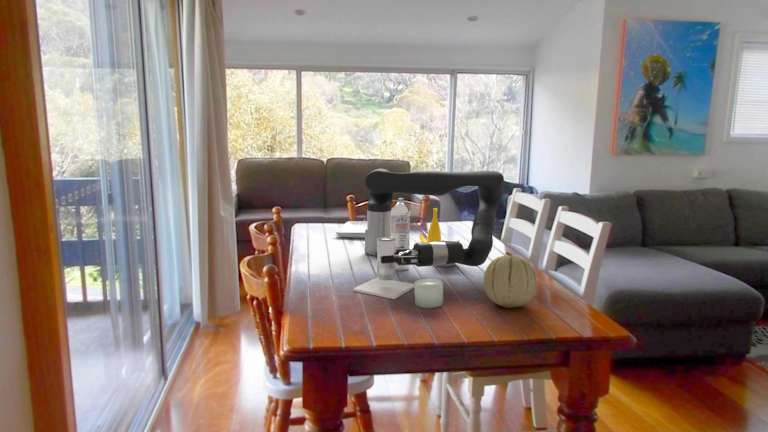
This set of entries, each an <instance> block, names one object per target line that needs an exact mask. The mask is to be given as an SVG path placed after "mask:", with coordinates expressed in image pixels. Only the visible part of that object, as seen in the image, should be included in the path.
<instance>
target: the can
mask: <svg viewBox="0 0 768 432" xmlns="http://www.w3.org/2000/svg"><path fill="white" fill-rule="evenodd" d="M389 255H393V257H394V255H396V239H395V238H392V237H381V238H378V239H377V258H376V266H377V267H376V274H377V275H376V277H377V278H378V279H380V280H396V270H395V265H396V264H394V262H393V263H385V264H382V263H381V256H389Z"/></svg>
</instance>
